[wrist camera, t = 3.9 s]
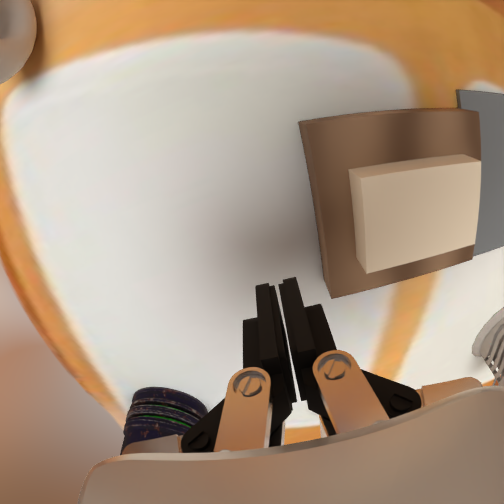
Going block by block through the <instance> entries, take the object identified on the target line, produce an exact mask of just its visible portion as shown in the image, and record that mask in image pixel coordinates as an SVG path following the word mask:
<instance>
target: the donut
mask: <svg viewBox="0 0 504 504" xmlns="http://www.w3.org/2000/svg"><path fill="white" fill-rule="evenodd" d="M36 32H37V21H36V16H35V11H34V8H33V6H32V3H31V1H30V0H0V84H1V83H4V82H5V81H7V80H8V79H10V78H11V77H12V76H13V75H15V74H16V73H17V72H19V71H20V69H21V68H22V67H23V66H24V64H25V63H26V61H27V59H28V58H29V56H30V54H31V53H32V51H33V47H34V43H35V39H36Z"/></svg>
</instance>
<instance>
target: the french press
mask: <svg viewBox="0 0 504 504" xmlns="http://www.w3.org/2000/svg"><path fill="white" fill-rule="evenodd" d="M472 354H473V355H474V356H482V357H483V358H484V360H485V361H486V363H487V365H488V366H489V368H490V369H491V371H492V373H493V374H494V376H495V379H494V383H493V386H494V385H495V382H496V379H497V381H498V383H499V386H504V307H503V308H502V309H501V310H500V311H498V312H497V313H496V314H495V315H494V316H493V317H492V318H491V319H490V320H489V321H488V322H487V323H486V324H485V325H484V327H483V328H482V330H481V331H480V333H479V334H478V335H477V337H476V339H475V341H474V344H473V346H472ZM489 355H490V357H489V359H488V357H487V356H489ZM492 360H493V361H494V365H492V363H491V362H492ZM496 367H498V369H499V370H498V372H497V371H496V370H495V369H496ZM500 375H501V378H500ZM502 376H503V378H502Z"/></svg>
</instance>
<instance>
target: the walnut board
mask: <svg viewBox="0 0 504 504" xmlns="http://www.w3.org/2000/svg"><path fill="white" fill-rule="evenodd" d="M298 123H299V128H300V133H301V138H302V143H303V148H304V153H305V158H306V163H307V169H308V174H309V180H310V186H311V191H312V197H313V204H314V210H315V216H316V223H317V230H318V237H319V244H320V252H321V259H322V267H323V276H324V281H325V283H326V286H327V289H328V291H329V294H330V296H331V299H333V298H337V297H342V296H346V295H350V294H354V293H358V292H362V291H366V290H370V289H374V288H377V287H381V286H385V285H389V284H392V283H396V282H400V281H403V280H407V279H410V278H414V277H417V276H421V275H424V274H427V273H431V272H434V271H437V270H441V269H444V268H447V267H450V266H453V265H456V264H460V263H463V262H466V261H469V260H472V258H473V252H474V246H475V244H473V245H470V246H466V247H463V248H460V249H456V250H453V251H450V252H446V253H443V254H439V255H436V256H432V257H429V258H425V259H421V260H418V261H414V262H410V263H406V264H403V265H399V266H395V267H391V268H387V269H383V270H380V271H376V272H372V273H368V274H366V272H365V270H364V269H363V267H362V266H361V264H360V262H359V261H358V259H357V258H356V242H355V228H354V216H353V206H352V196H351V187H350V179H349V171H348V170H349V169H354V168H360V167H367V166H373V165H379V164H386V163H393V162H400V161H407V160H415V159H423V158H431V157H440V156H449V155H459V154H464V155H467V156H469V157H472V158H474V159H477V160H479V161H481V134H480V118H479V112H477V111H472V110H466V109H460V108H424V109H402V110H387V111H375V112H364V113H355V114H347V115H339V116H331V117H324V118H318V119H312V120H305V121H300V122H298Z"/></svg>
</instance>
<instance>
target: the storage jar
mask: <svg viewBox="0 0 504 504" xmlns="http://www.w3.org/2000/svg"><path fill="white" fill-rule="evenodd" d="M206 414H207V409H206V407H205V406H204V405H203V403H202V402H200V401H199V400H198V399H196V398H194V397H193V396H190V395H188V394H186V393H183V392H181V391H177V390H174V389H169V388H163V387H148V388H143V389H140V390H138V391H137V392H135V394H134V396H133V399H132V404H131V406H130V410H129V411H128V414H127V417H126V424H125V426H124V435H125V437H124V441H123V445H122V449H121V454H120V455H122V452H123V450H124V448H125V447H126V446H128V445H129V444H131V443H134V442H140V441H145V440H151V439H156V438H161V437H166V436H171V435H175V434H177V435H178V436H181V435H184V434H185V433H186V432H187V431H188V430H189V429H190V428H191V427H192V426H193V425H195V424H196V423H197V422H198V421H199V420H200V419H202V418H203V417H204V416H205V415H206Z"/></svg>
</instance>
